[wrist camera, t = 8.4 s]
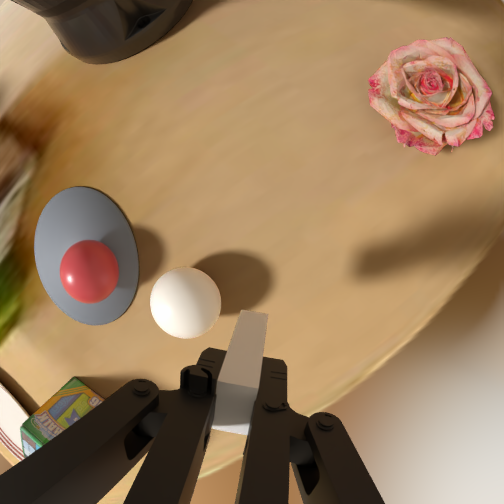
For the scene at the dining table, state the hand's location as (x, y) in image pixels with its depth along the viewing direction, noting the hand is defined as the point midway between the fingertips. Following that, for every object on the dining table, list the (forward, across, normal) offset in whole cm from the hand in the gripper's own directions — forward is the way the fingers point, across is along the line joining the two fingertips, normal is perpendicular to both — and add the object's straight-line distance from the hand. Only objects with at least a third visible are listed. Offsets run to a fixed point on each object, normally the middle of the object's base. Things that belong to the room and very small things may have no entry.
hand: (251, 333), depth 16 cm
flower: (+9, +10, +17) cm, 22 cm away
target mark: (+8, -18, -1) cm, 20 cm away
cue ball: (+5, -5, -2) cm, 8 cm away
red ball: (+5, -15, -1) cm, 16 cm away
